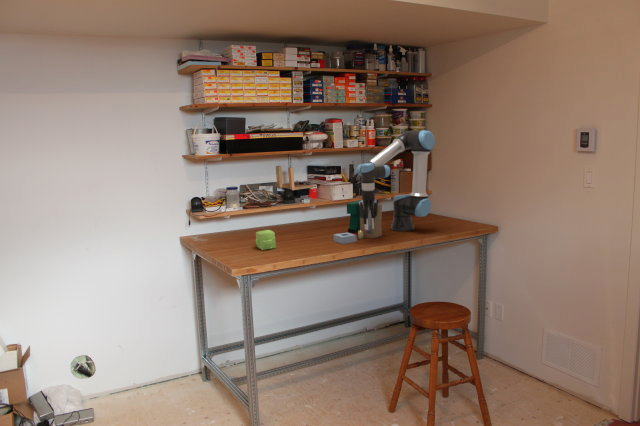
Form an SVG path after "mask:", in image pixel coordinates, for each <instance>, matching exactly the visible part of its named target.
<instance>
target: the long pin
mask: <svg viewBox="0 0 640 426" xmlns="http://www.w3.org/2000/svg"><path fill="white" fill-rule="evenodd" d="M367 219H368V230H367V234H372V214H371V210H368V212H367Z"/></svg>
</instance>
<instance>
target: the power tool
mask: <svg viewBox="0 0 640 426" xmlns="http://www.w3.org/2000/svg"><path fill="white" fill-rule="evenodd" d="M360 201H362V199H358V200H355V201H352V202H351V201H350V202H347V203H346V214H349V215H350V216H349V224H348V225H349V226H348V228H347V233H351V234H354V235H356V236H358V230H360V208H359V204H358V202H360ZM373 204H374V203H373ZM363 205H364V203H363Z"/></svg>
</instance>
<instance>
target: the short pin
mask: <svg viewBox="0 0 640 426" xmlns="http://www.w3.org/2000/svg"><path fill="white" fill-rule="evenodd" d="M357 239H358V240H364V237H363V230H358V235H357Z"/></svg>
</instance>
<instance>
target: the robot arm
mask: <svg viewBox="0 0 640 426" xmlns="http://www.w3.org/2000/svg"><path fill="white" fill-rule="evenodd" d="M435 143H436V140H435V135H434V134H433V133H432V132H431V131H430V130H424V129H423V130H407V131H405V132H403V133H401V134H400V135H398V136H397V137H395V138H394V139H393V141H392V142H391V144H389V145H388V146H386V147H385V148H383V149H382V150H381V151H380V152H379V153H377V154H376V155H375V156H373V157H372V158H371V159H369V160H368V161H367V162H365V163H360V164H358V165H357V167H356V173H357V175H358V176H360V177H361V197H362V199H361V200H362V201H360V202H358V204H359V208H360V217H361V218H363V221H364V224H365V229H366V230H368V219H367V212H368V207H369V208H370V210H371V214H372V229H374V222H375V221H374V218H375V217H376V216H377V212H378V204H379V202H380V201H379V199H376V197H375V196H376V193H375V192H376V191H375V180H377V179H378V180H379V179H385V178H387V177H389V176H390V175H391V168H390V166H389V165H387V164H386V163H388V162H389V161H390V160H391V159H393V158H394V157H396V156H397V155H398V154H400V153H403V152H405V151H406V150H411V153H412V154H413V167H412V186H411V187H412V188H411V192H410V193H406V194H398V195H397V194H396V195H394V197H393V200H392V201H393V218H392V222H391V225H390V230H392V231H396V232H409V231H410V232H412V231H413V230H415V225H414V222H413V221H414V220H413V219H412V216H415V217H418V218H419V217H421V218H423V217H426V216H428V214H429V213H430V212H431V210H432V205H433V204H432V202H431V200H430V199H429V195H428V194H427V175H428V173H427V172H428V158H429V157H428V156H429V154H430V153H431V150H432V149H434V146H435ZM363 203H364V209H363ZM373 203H374V205H373ZM373 206H374V208H373Z"/></svg>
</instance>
